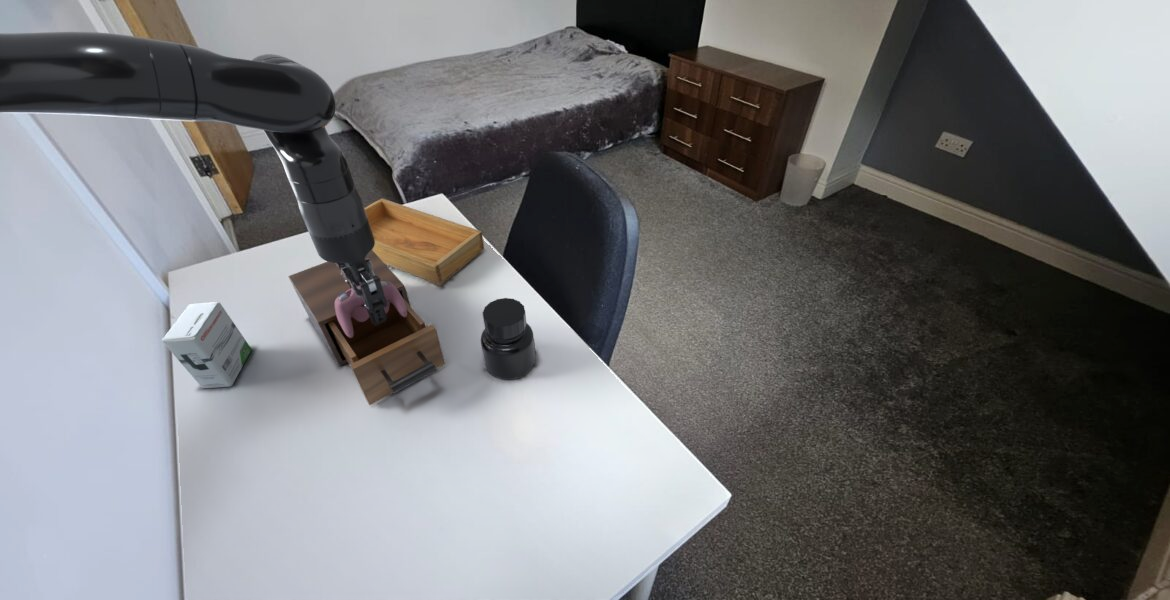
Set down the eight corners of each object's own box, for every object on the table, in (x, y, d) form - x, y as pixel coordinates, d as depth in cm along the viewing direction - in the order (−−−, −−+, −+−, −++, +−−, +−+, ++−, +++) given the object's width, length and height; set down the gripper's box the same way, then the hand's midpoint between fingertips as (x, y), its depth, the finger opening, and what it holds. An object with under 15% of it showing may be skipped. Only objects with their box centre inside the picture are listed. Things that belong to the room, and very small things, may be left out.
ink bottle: (543, 348, 86) (540, 299, 78) (528, 385, 79) (523, 336, 71) (493, 339, 87) (485, 289, 79) (474, 374, 81) (464, 325, 73)
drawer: (459, 380, 79) (450, 344, 73) (382, 425, 72) (365, 389, 66) (408, 319, 89) (396, 284, 84) (336, 353, 83) (318, 317, 77)
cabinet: (417, 328, 89) (404, 285, 82) (339, 366, 82) (317, 322, 75) (383, 287, 98) (368, 246, 91) (309, 319, 90) (287, 276, 83)
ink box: (224, 350, 84) (188, 301, 76) (253, 349, 84) (221, 299, 76) (200, 389, 77) (158, 340, 70) (231, 387, 78) (193, 337, 70)
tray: (338, 246, 109) (329, 225, 105) (387, 216, 119) (381, 196, 115) (440, 288, 98) (435, 267, 94) (485, 252, 108) (482, 231, 104)
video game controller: (405, 311, 79) (390, 272, 77) (411, 316, 75) (395, 275, 73) (344, 334, 75) (326, 294, 73) (346, 340, 71) (328, 298, 69)
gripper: (386, 233, 61) (414, 325, 72) (345, 191, 69) (376, 280, 81) (327, 254, 58) (366, 348, 69) (291, 208, 66) (331, 298, 77)
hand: (371, 311), depth 75 cm, fingers closed on video game controller, 6 cm apart
